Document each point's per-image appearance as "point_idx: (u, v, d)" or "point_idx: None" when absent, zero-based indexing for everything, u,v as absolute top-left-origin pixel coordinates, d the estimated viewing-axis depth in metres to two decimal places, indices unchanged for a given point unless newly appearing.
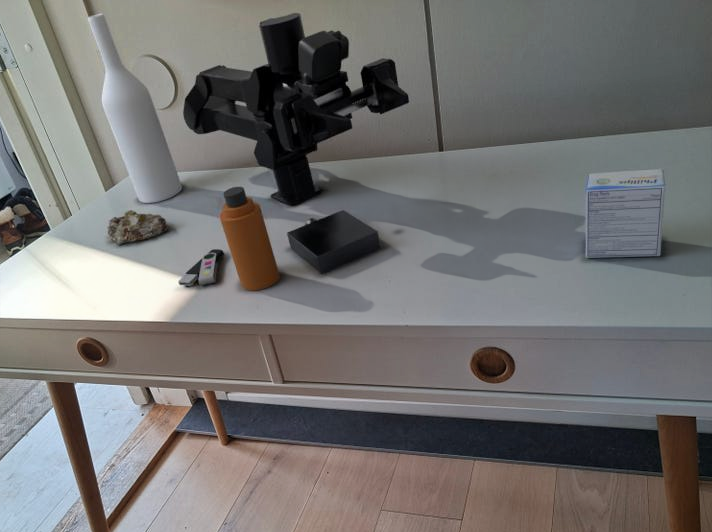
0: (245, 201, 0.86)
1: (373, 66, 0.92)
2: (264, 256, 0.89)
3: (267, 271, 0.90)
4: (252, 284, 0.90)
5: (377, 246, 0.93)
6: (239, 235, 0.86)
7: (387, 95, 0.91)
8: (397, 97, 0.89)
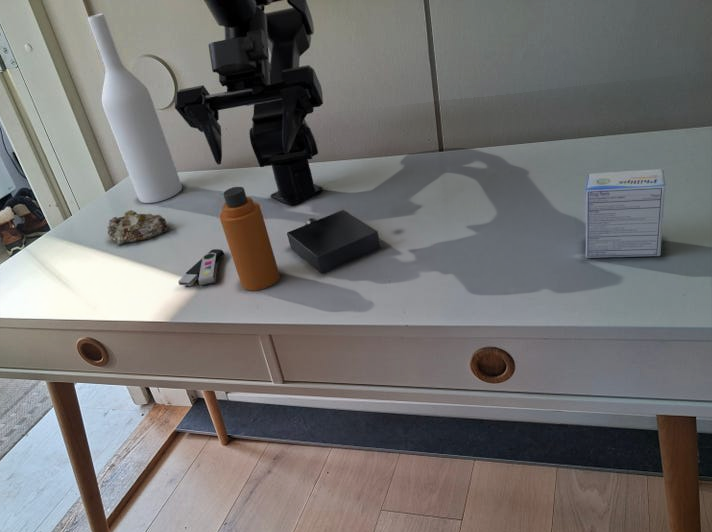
0: (245, 201, 0.86)
1: (286, 82, 0.88)
2: (264, 256, 0.89)
3: (267, 271, 0.90)
4: (252, 284, 0.90)
5: (377, 246, 0.93)
6: (239, 235, 0.86)
7: None
8: None
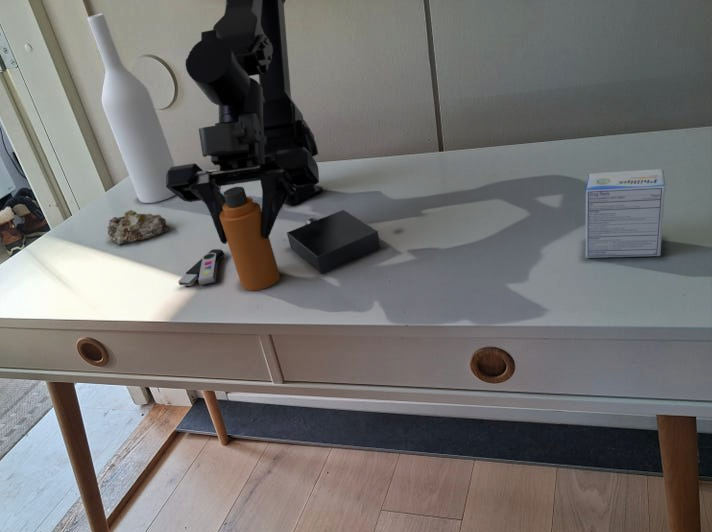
0: (245, 201, 0.86)
1: (280, 166, 0.85)
2: (264, 256, 0.89)
3: (267, 271, 0.90)
4: (252, 284, 0.90)
5: (377, 246, 0.93)
6: (239, 235, 0.86)
7: None
8: None
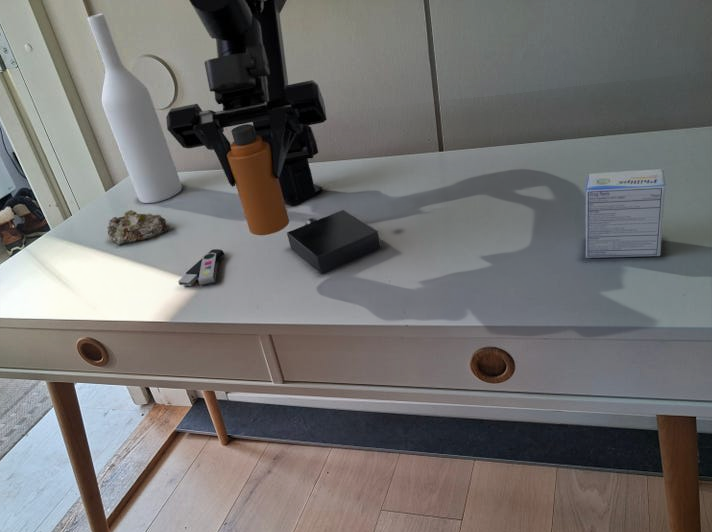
0: (255, 138, 0.82)
1: (289, 100, 0.82)
2: (275, 197, 0.85)
3: (278, 213, 0.86)
4: (263, 228, 0.87)
5: (377, 246, 0.93)
6: (250, 175, 0.83)
7: None
8: None
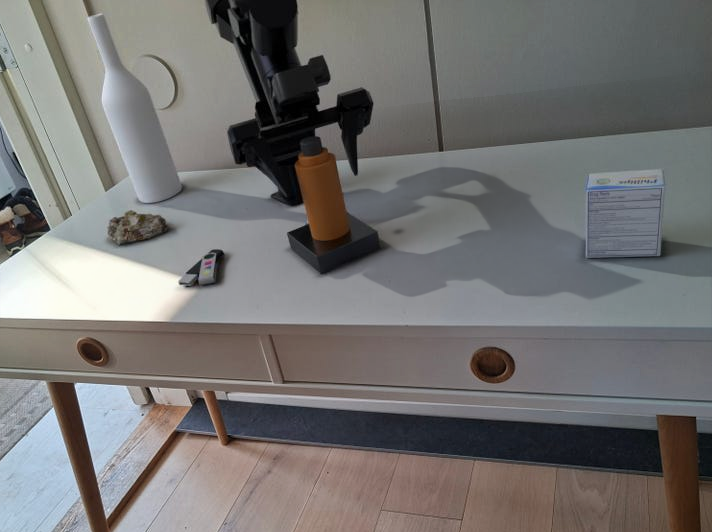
0: (322, 148, 0.88)
1: (347, 106, 0.88)
2: (342, 202, 0.91)
3: (344, 217, 0.92)
4: (332, 233, 0.92)
5: (377, 246, 0.93)
6: (324, 182, 0.88)
7: (346, 145, 0.90)
8: (350, 162, 0.90)
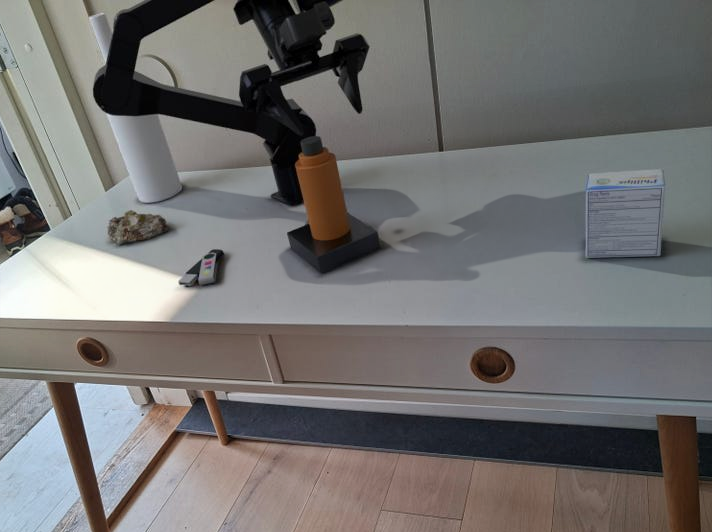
0: (323, 148, 0.88)
1: (348, 49, 0.96)
2: (342, 202, 0.91)
3: (345, 217, 0.92)
4: (333, 233, 0.92)
5: (377, 246, 0.93)
6: (324, 182, 0.88)
7: (348, 87, 0.98)
8: (354, 101, 0.98)
